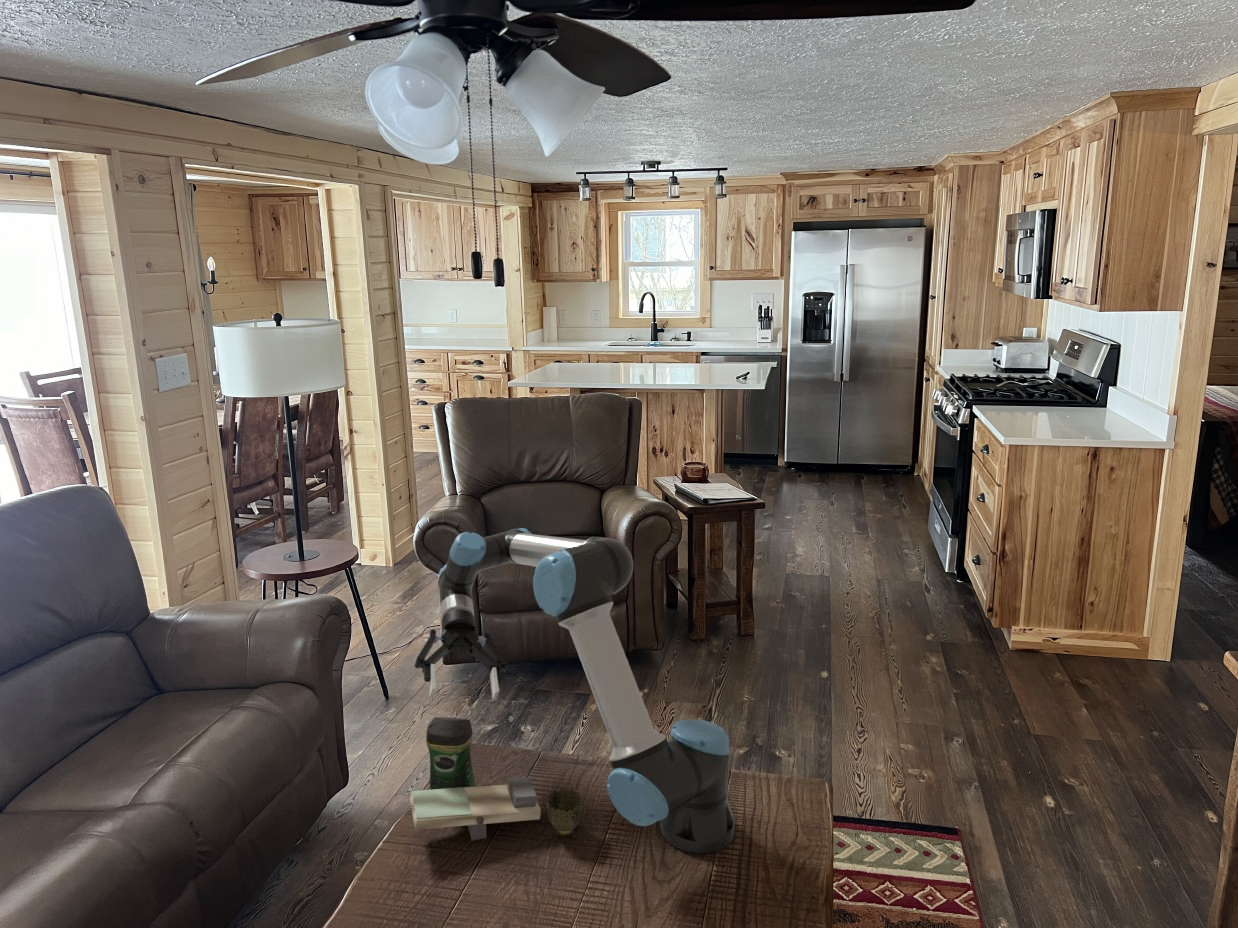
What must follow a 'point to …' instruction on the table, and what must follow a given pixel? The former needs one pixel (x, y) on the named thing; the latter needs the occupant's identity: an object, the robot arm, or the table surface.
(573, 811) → the cup
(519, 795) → the beam
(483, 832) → the beam stand
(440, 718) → the coffee jar
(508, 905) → the table surface
